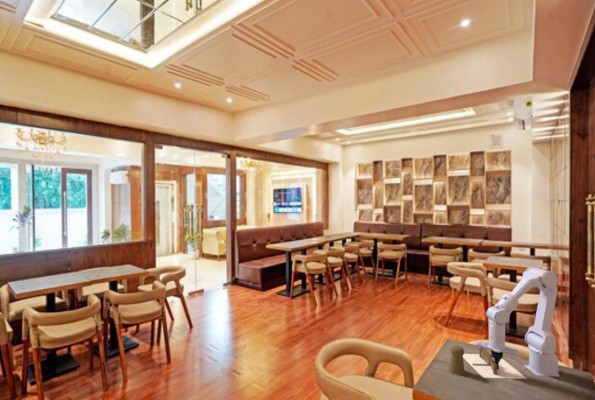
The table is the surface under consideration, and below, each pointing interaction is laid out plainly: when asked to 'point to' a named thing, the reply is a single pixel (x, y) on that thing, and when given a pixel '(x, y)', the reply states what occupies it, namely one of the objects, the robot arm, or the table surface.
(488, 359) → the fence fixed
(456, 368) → the cork
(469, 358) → the card
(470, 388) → the table surface
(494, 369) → the fence gate
